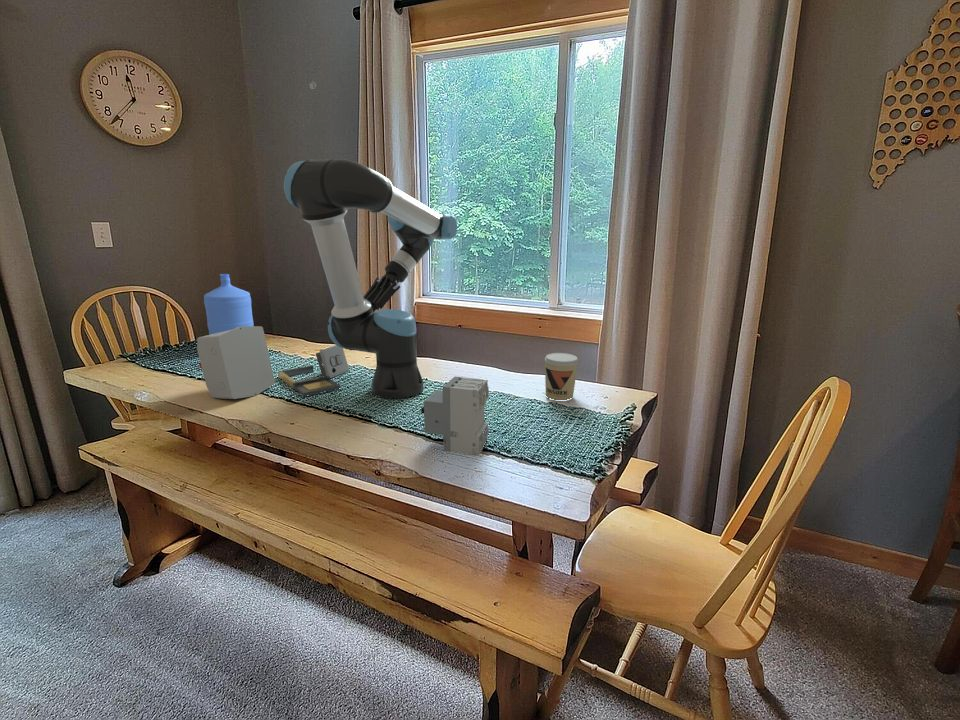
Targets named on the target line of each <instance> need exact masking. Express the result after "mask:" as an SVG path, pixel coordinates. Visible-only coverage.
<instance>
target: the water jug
mask: <svg viewBox="0 0 960 720" xmlns="http://www.w3.org/2000/svg"><path fill="white" fill-rule="evenodd" d="M219 276H220V279H219V280H220V283H221V284H220V285H219V287H216V288H214V289H212V290H211V291H209V292H207V293H205V294H204V295H203V303H204V308H205V313H206V320H207V329H208V333H209V334H208V335H211V334H215V333H220V332H224V331H228V330H233V329H235V328H237V327H245V326H255V325H254V318H253V317H254V316H253V310H252V309H253V308H252V297H251V293H250V291H246V290H244V289H241V288H238V287H237V286H234V285H232V284H231V278H230V274H229V273H221V274H219Z"/></svg>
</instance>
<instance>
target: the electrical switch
mask: <svg viewBox="0 0 960 720" xmlns="http://www.w3.org/2000/svg"><path fill="white" fill-rule="evenodd" d="M315 357H316V360H317V363H318V366H319V369H320V374H321V377H322V376H330V379H332V378H334V377H337V376H340V375H343V374H345V373H347V372H349V371H350V367H349V363H348V361H347V358H346V354H345V350H344V348H341V347H339V346H337V345H336V344H334V345H332V346H330V347H326V348H323V349H320V350H319V352H316V353H315Z"/></svg>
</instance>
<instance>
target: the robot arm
mask: <svg viewBox="0 0 960 720" xmlns="http://www.w3.org/2000/svg"><path fill="white" fill-rule="evenodd" d="M283 191H284V194H285V195H284V196H285V197H286V199H287V201H288V202H289V204H290V205H292V207H294V208H296V209H298V210H299V211H300V214H301V217H302V220H303V221H304V222H306V223H308V224H309V225H310V226H311V230H312V233H313V237H314V240H315V244H316V246H317V250H318V253H319V258H320V261H321V265H322V267H323V270H324V274H325V276H326V277H325V279H326V281H327V285H328V288H329V291H330V294H331V297H332V298H331V299H332V301H333V304H334V306H333V308H332V309H331V311H330V312H331V315H330V316H329V318H328V320H327V321H328V323H329V324H327V331H328V332H327V333H328V336H329V338H330V340H331V342H332V343H333V344H334V345H337V346H339V347H341V348H343V349H345V350H349V351H358V352H363V353H371V354H375V359H376V368H375V370H374V374H373V377H372V381H371V393H372V394H373V395H374V394H375V395H374V396H376V395H377V396H376V397H378V396H380V397H379V398H382V397H384V399H391V398H398V399H406V398H405V397H407V398H411V397H410V396H412V397H414V395H415V396H417V395H416V394H418V395H420V394H421V393H423V391H424V380H423V378H422V375H421V371H420V368H419V366H418V359H417V358H418V357H417V355H418V354H417V353H418V352H417V351H418V350H417V347H418V346H417V345H418V344H417V332H418V330H417V326H416V325H417V323H416V319H415V317H414V315H412V314H411V313H410V312H408V311H405V310H400V309H393V308H392V309H391V308H384V307H385V305H387V302H388V301H390V299H392V297H393V296H394V295H395V293H396V292H397V291H399V289H400V288H401V286H400V285H399V283H400V284H401V283H402V284H403V282H405V280H406V279H407V278H408V276H409V274H410V273H412V271H414V270H415V267H416V265H417V264H418V263H419V262H420V261H421V260H422V258H423V257H424V256H425V255H426V254H427V252H428V251H429V250H430V248H431V247H432V246H433V244H434V241H435V240H443V241H444V240H452V239H454V238H455V237H456V235H457V232H458V221H457V218H456V217H455V216H454V215H452V214H447V213H444V214H442V213H439V212H438V211H436V210H433V209H432V208H430V207H429V206H427V205H426V204H423V203H422V202H420V201H419V200H417V199H415V197H412V196H410V195H409V194H407V193H405V192H404V191H402V190H400V189H399V188H396V187H395V186H394V185H393V184H392V182H391V180H390V178H387V176H384V174H381V173H380V172H378V171H376V170H374V169H372V168H370V167H368V166H366V165H364V164H362V163H360V162H357V161H353V160H351V159H347V158H335V159H330V158H329V159H306V160H300V161H297V162H294V163H293V164H291V165H290V166H289V167H288V169H287V171H286V174H285V176H284V180H283ZM348 209H356V210H365V211H368V212H371V213H372V214H377V213H378V214H379V213H381V214H383V215H385V216H387V222H388V224H389V227H391V230H392V231H393V232H394V233H395V235H396V236H397V238H398V240H400V242H401V244H402V246H401V247H400V248H399V249H398V251H396V253H395V255H394V256H393V257H392V259H391V260H390V261H389V262H388V263H387V265H386V266H385V267H384V271H385V274H384V275H383V276H382V277H380V278H379V277H376V278H375V279H374V282H372V285H371V286H370V287H369V288H368V290H367V291H366V293H365V294H364V292H363V289H362V285H361V281H360V277H359V273H358V269H357V265H356V263H355V259H354V258H355V257H354V253H353V250H352V246H351V242H350V238H349V234H348V231H347V227H346V223H345V216H346V214H347V213H348ZM420 392H421V393H420ZM419 393H420V394H419Z"/></svg>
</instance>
